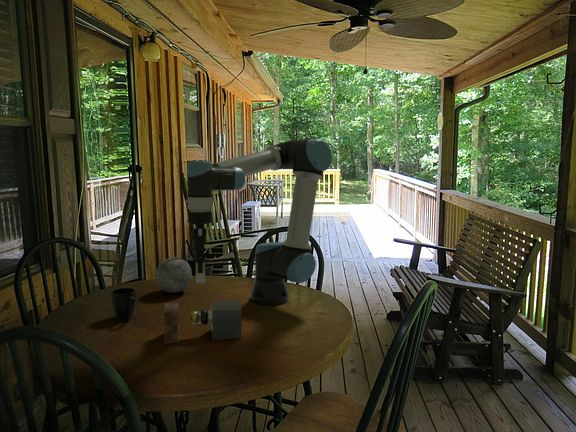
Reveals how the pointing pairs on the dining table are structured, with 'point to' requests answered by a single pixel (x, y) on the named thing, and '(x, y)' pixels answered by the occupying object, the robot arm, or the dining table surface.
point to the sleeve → (226, 320)
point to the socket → (171, 323)
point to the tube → (201, 317)
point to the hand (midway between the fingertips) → (200, 277)
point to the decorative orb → (173, 275)
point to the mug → (123, 302)
